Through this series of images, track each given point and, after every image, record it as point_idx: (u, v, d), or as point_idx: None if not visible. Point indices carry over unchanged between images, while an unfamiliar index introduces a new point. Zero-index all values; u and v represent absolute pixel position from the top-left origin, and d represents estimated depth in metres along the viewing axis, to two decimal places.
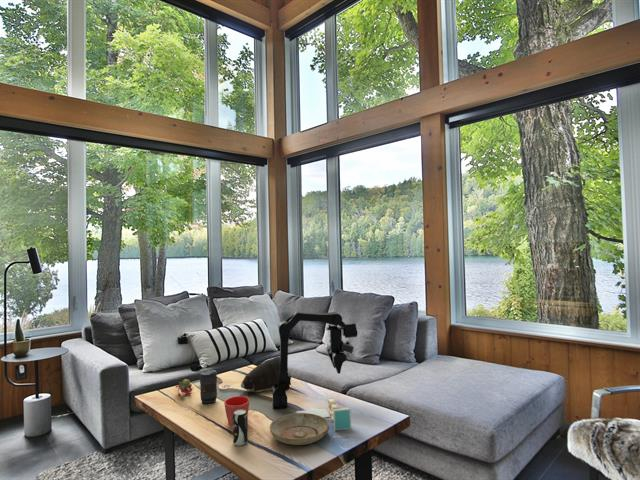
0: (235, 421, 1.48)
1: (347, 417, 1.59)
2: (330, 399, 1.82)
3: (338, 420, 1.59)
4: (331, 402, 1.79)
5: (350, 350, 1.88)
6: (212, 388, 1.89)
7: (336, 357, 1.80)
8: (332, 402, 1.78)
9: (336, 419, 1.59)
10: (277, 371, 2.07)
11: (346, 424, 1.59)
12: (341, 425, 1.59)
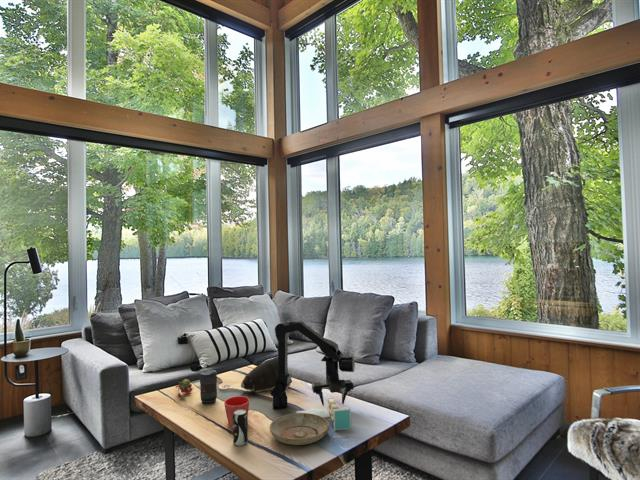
0: (235, 421, 1.48)
1: (347, 417, 1.59)
2: (330, 399, 1.82)
3: (338, 420, 1.59)
4: (331, 402, 1.79)
5: (330, 388, 1.72)
6: (212, 388, 1.89)
7: None
8: (332, 402, 1.78)
9: (336, 419, 1.59)
10: (277, 371, 2.07)
11: (346, 424, 1.59)
12: (341, 425, 1.59)
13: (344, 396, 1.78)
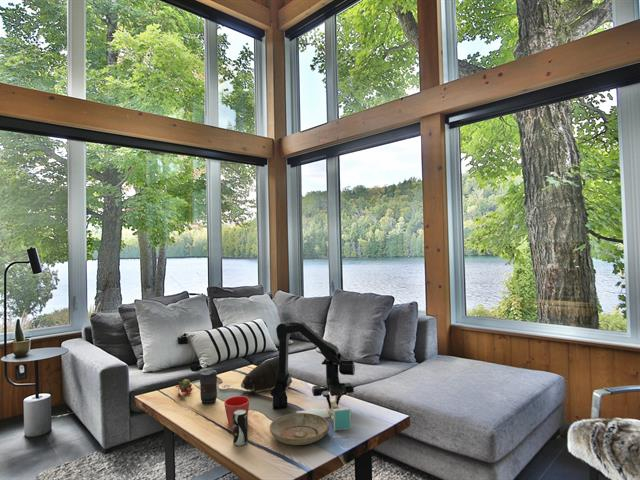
0: (235, 421, 1.48)
1: (347, 417, 1.59)
2: (330, 399, 1.82)
3: (338, 420, 1.59)
4: (331, 402, 1.79)
5: (330, 391, 1.71)
6: (212, 388, 1.89)
7: (312, 388, 1.79)
8: (332, 402, 1.78)
9: (336, 419, 1.59)
10: (277, 371, 2.07)
11: (346, 424, 1.59)
12: (341, 425, 1.59)
13: (338, 400, 1.77)
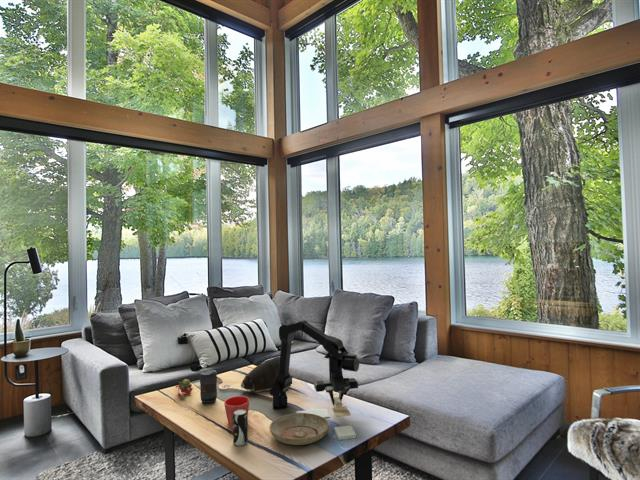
0: (235, 421, 1.48)
1: None
2: (333, 395, 1.75)
3: None
4: (334, 398, 1.71)
5: (333, 387, 1.64)
6: (212, 388, 1.89)
7: (314, 384, 1.71)
8: (335, 398, 1.71)
9: None
10: (277, 371, 2.07)
11: None
12: None
13: (341, 396, 1.70)
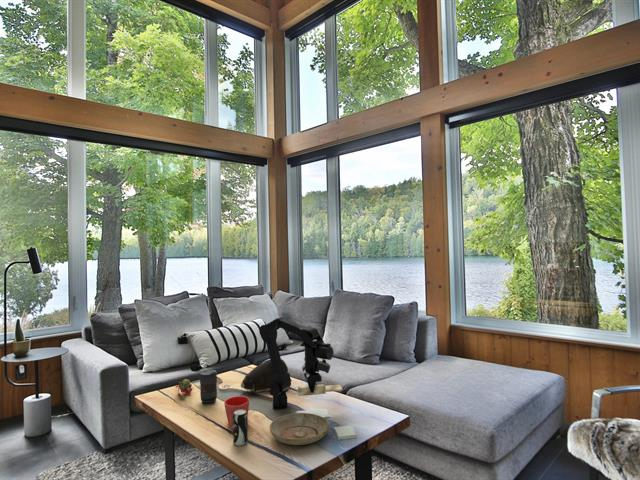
0: (235, 421, 1.48)
1: None
2: (302, 387, 1.73)
3: None
4: None
5: (326, 369, 1.73)
6: (212, 388, 1.89)
7: (310, 378, 1.65)
8: None
9: None
10: None
11: None
12: None
13: None
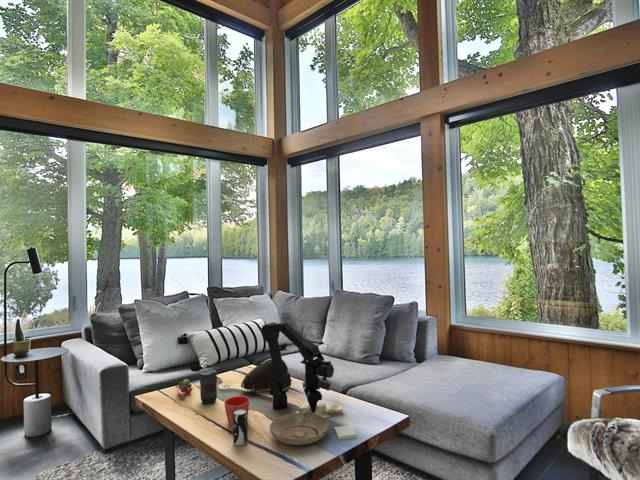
0: (235, 421, 1.48)
1: None
2: (302, 407, 1.73)
3: None
4: None
5: (327, 387, 1.73)
6: (212, 388, 1.89)
7: (310, 396, 1.65)
8: None
9: None
10: None
11: None
12: None
13: None
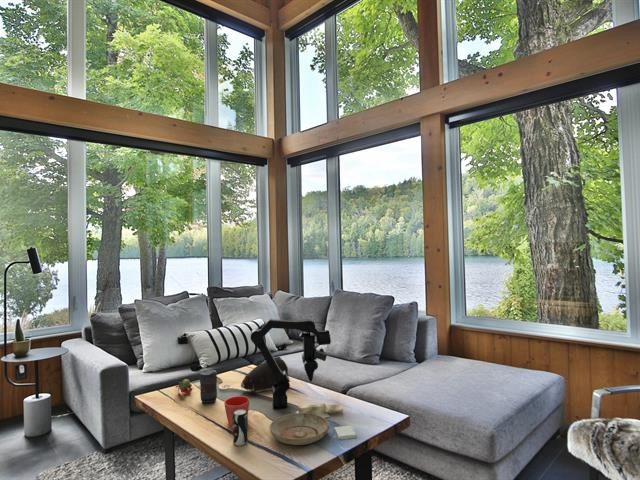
0: (235, 421, 1.48)
1: None
2: (302, 407, 1.73)
3: None
4: (310, 406, 1.73)
5: (323, 358, 1.86)
6: (212, 388, 1.89)
7: (307, 365, 1.78)
8: (311, 406, 1.74)
9: None
10: None
11: None
12: None
13: None
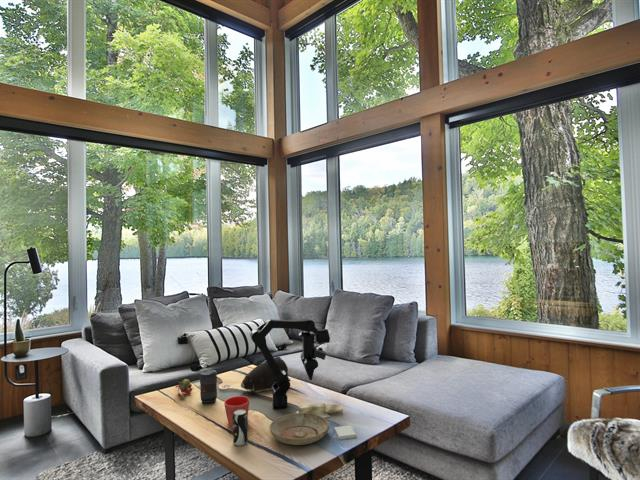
0: (235, 421, 1.48)
1: None
2: (302, 407, 1.73)
3: None
4: (310, 406, 1.73)
5: (322, 356, 1.88)
6: (212, 388, 1.89)
7: (307, 364, 1.80)
8: (311, 406, 1.74)
9: None
10: None
11: None
12: None
13: None
